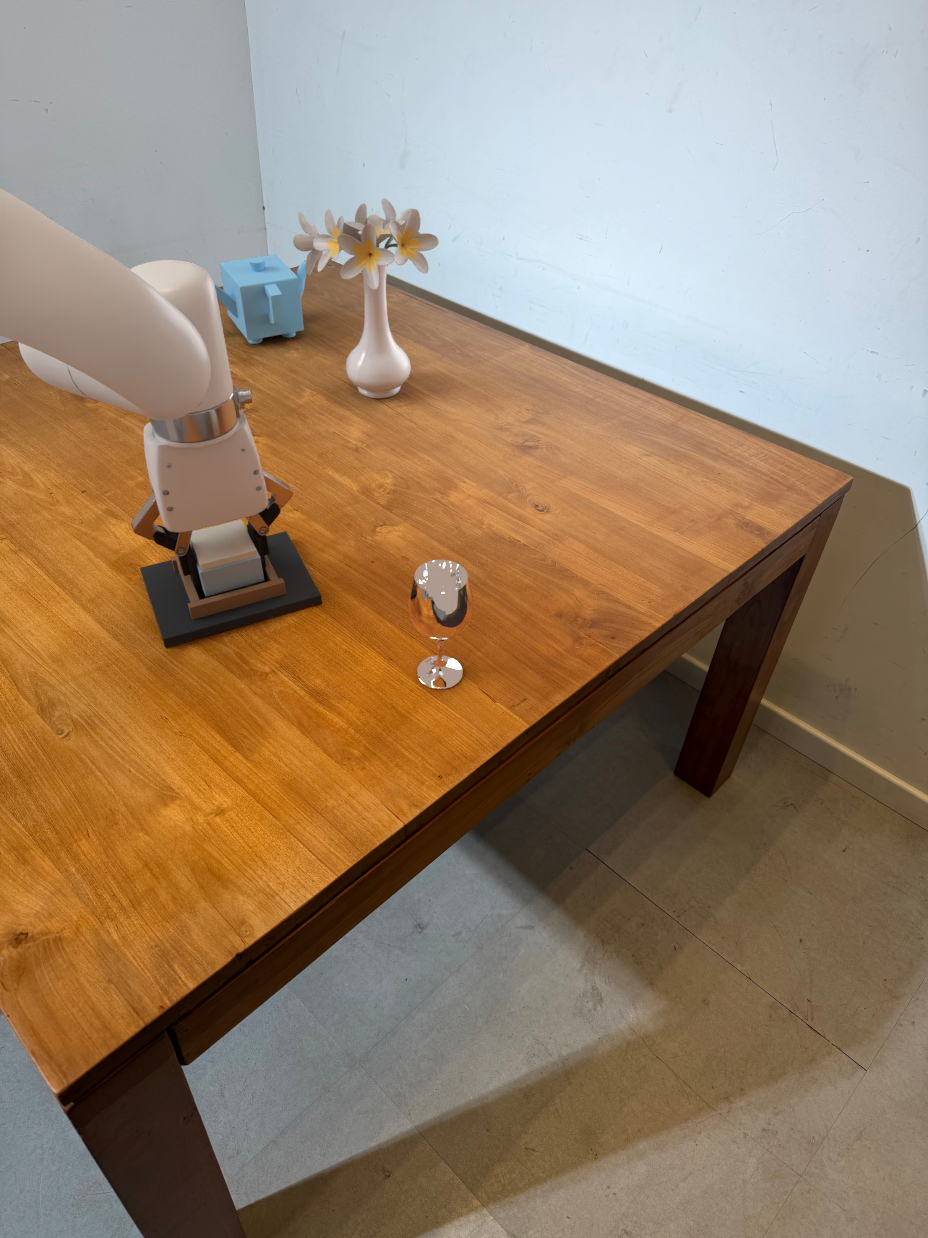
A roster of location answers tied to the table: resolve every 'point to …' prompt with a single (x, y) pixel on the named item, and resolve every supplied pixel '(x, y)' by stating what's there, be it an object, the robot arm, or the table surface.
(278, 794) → the table surface
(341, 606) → the table surface
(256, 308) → the teapot
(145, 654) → the table surface
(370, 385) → the flower vase
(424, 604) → the wineglass
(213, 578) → the upper pad
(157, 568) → the base pad
